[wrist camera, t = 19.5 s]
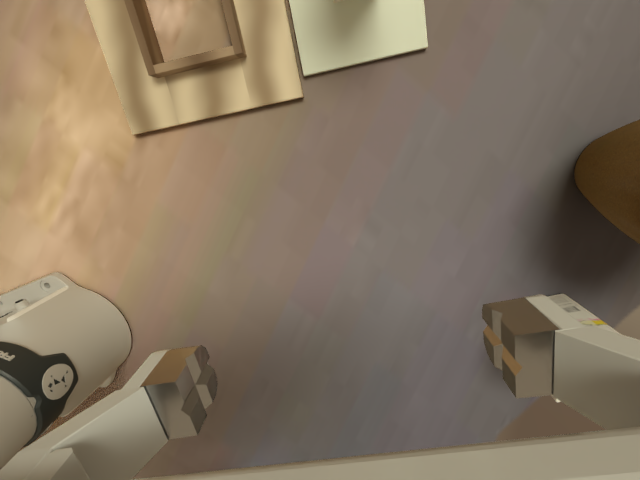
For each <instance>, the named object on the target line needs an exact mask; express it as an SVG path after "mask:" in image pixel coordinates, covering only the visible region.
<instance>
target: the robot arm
mask: <svg viewBox="0 0 640 480" xmlns="http://www.w3.org/2000/svg"><path fill="white" fill-rule="evenodd" d="M49 284H50V285H49ZM482 318H483V319H484V321H485V322H486V323H487V327H486V328H485V330H484V331H483V336H484V344H485V348H486V351H487V354H488V356H489V358H490V360H491V362H492V363H493V365H494V366H495V367H497V368H499V369H501V370H502V374H503V380H504V381H505V383H506V384H507V386H508V387H509V389H510V390H511V392H512V393H513V394H514V396H515V397H516V398H525V397H536V396H548V395H553V397H555V398H556V399H558V400H560V401H561V402H563V403H564V404H566V405H568V406H569V407H571V408H573V409H574V410H576V411H577V412H579V413H581V414H582V415H584V416H585V417H587V418H589V419H590V420H592V421H594V422H595V423H597V424H599V425H600V426H602V427H603V428H605V429H606V430H602V431H592V432H582V433H574V434H564V435H555V436H546V437H535V438H526V439H516V440H507V441H496V442H487V443H477V444H467V445H457V446H448V447H438V448H428V449H418V450H409V451H399V452H389V453H379V454H370V455H360V456H351V457H342V458H332V459H323V460H313V461H304V462H294V463H285V464H275V465H266V466H256V467H246V468H236V469H227V470H217V471H207V472H198V473H188V474H178V475H169V476H159V477H149V478H140V479H132V478H133V477H134V476H135V475H136V474H137V473H138V472H139V471H140V470H141V469H142V468H143V467H144V466H145V465H146V464H147V463H148V462H149V461H150V460H151V459H152V458H153V457H154V456H155V455H156V453H157V452H158V451H159V450H160V449H161V448H162V447H163V446H164V445H165V444H166V443H167V442H168V440H170V439H177V438H183V437H190V436H197V435H198V433H199V431H200V429H201V427H202V425H203V422H204V420H205V418H206V416H207V414H206V411H205V409H206V408H207V407H208V406H209V405H210V404H211V403H212V402H213V400H214V398H215V396H216V391H217V377H216V374H215V371H214V369H213V368H212V367H211V366H209V365H208V364H207V362H208V359H209V354H208V352H207V350H206V348H205V347H204V346H202V345H200V346H192V347H184V348H176V349H171V350H170V349H168V350H162V351H156V352H153V353H151V355H150V356H149V357H148V358H147V359H146V361H145V362H144V363H143V364H142V365H141V366H140V368H139V369H138V370H137V371H136V372H135V374H134V375H133V376H132V377H131V378H130V380H129V381H128V382H127V383H126V384H125V386H124V387H123V388H122V389H121V390H116V391H114V392H113V393H111V394H109V395H108V396H106V397H105V398H103V399H102V400H100V401H98V402H97V403H95V404H94V405H92V406H90V407H89V408H87V409H86V410H84V411H83V412H81V413H79V414H78V415H76V416H75V417H73V418H71V419H70V420H68V421H67V422H65V423H64V424H62V425H60V426H59V427H57V428H56V429H54V430H52V431H51V432H49V433H48V434H46V435H45V436H43V437H41V438H40V439H38V440H37V441H35V440H36V439H37V438H38V437H39V436H40V435H42V434H43V433H44V432H45V431H46V430H47V429H48V428H49V427H50V426H51V425H52V424H53V422H54V421H55V420H56V419H57V418H58V417H65V416H67V415H68V414H70V413H71V412H72V411H73V410H74V409H75V408H76V407H78V406H79V405H80V404H81V403H82V402H83V401H84V400H85V399H86V398H87V397H89V396H90V395H91V394H92V393H93V392H94V391H95V390H96V389H97V388H98V387H107V386H108V385H110V384H111V383H112V382H113V380H114V378H115V375H116V370H117V368H118V367H119V366H120V365H121V364H122V363H123V362H124V361H125V360H126V358H127V357H128V355H129V352H130V349H131V333H130V329H129V326H128V324H127V322H126V320H125V318H124V317H123V315H122V314H121V313H120V311H119V310H118V309H117V308H116V307H115V306H114V305H113V304H112V303H111V302H109V301H108V300H107V299H105V298H104V297H102V296H101V295H99V294H97V293H95V292H93V291H90V290H88V289H85V288H82V287H80V286H78V285H76V284H75V283H74V282H72V281H71V280H70V279H69V278H67V277H66V276H64V275H63V274H61V273H58V272H53V273H50V274H48V275H46V276H43V277H41V278H38V279H36V280H34V281H31V282H29V283H27V284H24V285H22V286H19V287H17V288H15V289H12V290H10V291H8V292H5V293H3V294H0V480H640V340H638V339H634V338H631V337H628V336H624V335H621V334H618V333H614V332H611V331H608V330H605V329H601V328H598V327H595V326H584V325H582V324H581V323H580V322H579V321H577V320H576V319H575V318H573V317H572V316H571V315H570V314H568V313H567V312H566V311H564V310H563V309H562V308H561V307H559V306H558V305H557V304H556V303H554V302H553V301H552V300H550V299H549V298H548V297H547V296H545V295H541V294H539V295H533V296H528V297H523V298H518V299H512V300H506V301H500V302H494V303H489V304H483V307H482ZM33 441H35V442H33ZM32 442H33V443H32ZM31 443H32V444H31ZM29 444H30V445H29ZM27 445H29V446H27ZM25 446H27V447H26V448H24V449H22V450H21V451H19V450H20V449H21V448H22V447H25ZM18 451H19V452H18ZM17 452H18V453H17ZM16 453H17V454H16ZM15 454H16V455H15Z"/></svg>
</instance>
